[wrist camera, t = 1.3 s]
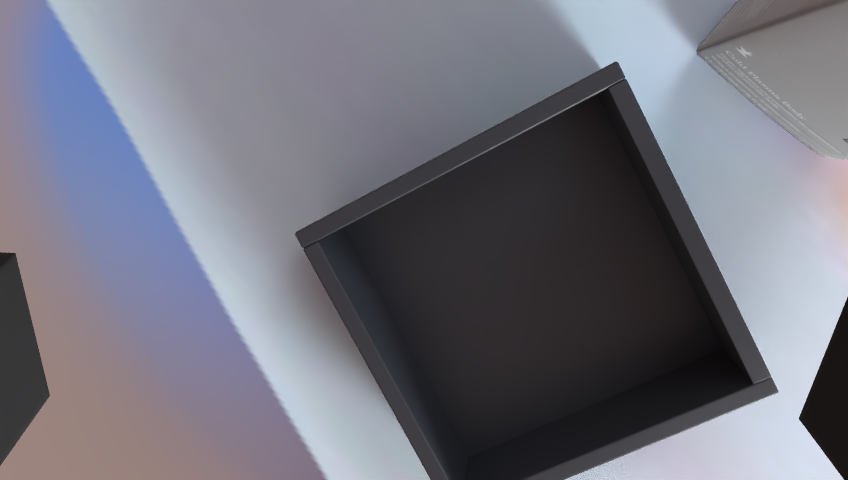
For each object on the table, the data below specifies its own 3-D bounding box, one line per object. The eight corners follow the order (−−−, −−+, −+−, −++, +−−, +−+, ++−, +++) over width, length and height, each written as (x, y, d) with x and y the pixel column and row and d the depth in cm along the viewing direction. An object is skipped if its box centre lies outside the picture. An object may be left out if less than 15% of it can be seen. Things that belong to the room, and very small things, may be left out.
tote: (326, 215, 36) (293, 233, 30) (601, 68, 32) (617, 60, 27) (463, 467, 37) (455, 524, 32) (740, 350, 34) (779, 393, 29)
